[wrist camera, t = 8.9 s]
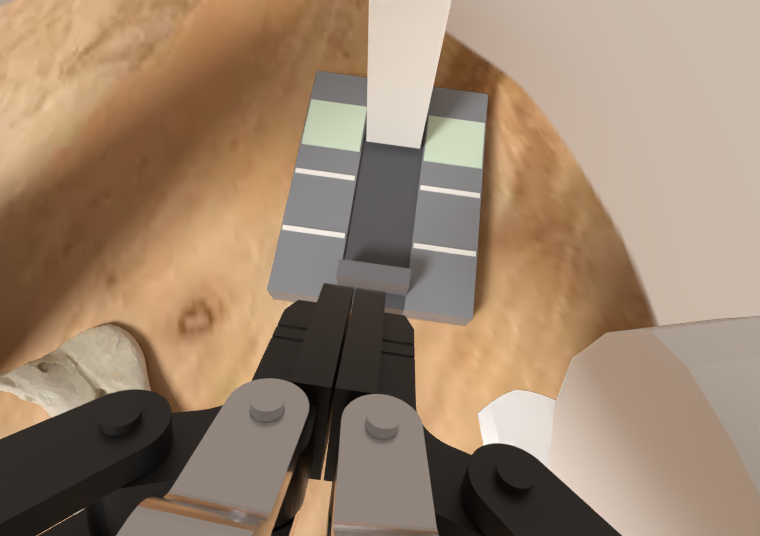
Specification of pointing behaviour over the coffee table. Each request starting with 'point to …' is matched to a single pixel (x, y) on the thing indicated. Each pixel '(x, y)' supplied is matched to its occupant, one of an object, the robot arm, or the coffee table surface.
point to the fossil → (81, 371)
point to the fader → (402, 67)
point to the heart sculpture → (652, 428)
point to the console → (385, 205)
